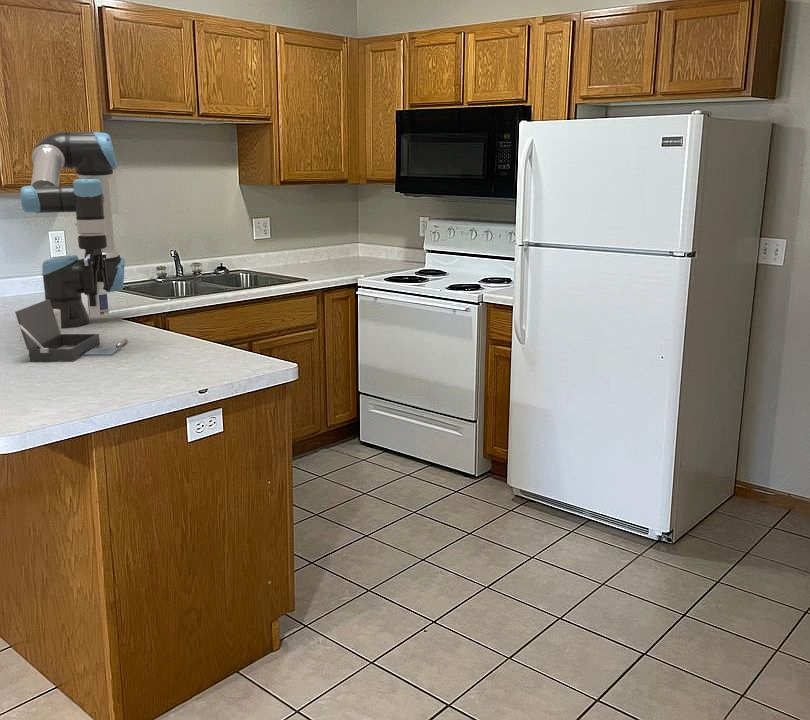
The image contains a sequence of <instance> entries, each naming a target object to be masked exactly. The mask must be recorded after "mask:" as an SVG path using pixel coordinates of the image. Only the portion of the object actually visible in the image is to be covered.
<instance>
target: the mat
mask: <svg viewBox="0 0 810 720" xmlns="http://www.w3.org/2000/svg"><path fill="white" fill-rule="evenodd" d="M121 350H122V349H121V347H120V348H116V347H96V348H93V349H91V350H90V351H88V352H86V353H85V354H84V355H83V357H112V356H113V355H116V354H117V353H118V352H120V351H121Z"/></svg>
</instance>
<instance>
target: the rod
mask: <svg viewBox="0 0 810 720" xmlns="http://www.w3.org/2000/svg"><path fill="white" fill-rule="evenodd" d="M128 342H129V340H128V339H127V338H126V339H124V340H122V341H120V342H118V343H117V344H116V345H115V348H121V347H123V346H124V345H126V344H127V343H128Z"/></svg>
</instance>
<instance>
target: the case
mask: <svg viewBox="0 0 810 720" xmlns="http://www.w3.org/2000/svg"><path fill="white" fill-rule="evenodd" d="M14 314H15V317H16V319H17V323H18V327H19V329H20V331H21V334H22V337H23V340H24V343H25V347H26V349H27V351H28V354H29V355H28V356H29V362H30V363H37V362H41V363H43V362H44V363H45V362H47V363H48V362H49V363H50V362H53V363H54V362H55V363H56V362H58V363H59V362H71V363H72V362H74V361H76V360H78V359H80V358H81V357H84V354H85V353H86V352H88V351H90V350H91V349H93V348H99V347H100V346H101V340H100V334H99V333H63V334H62V332H61V333H60V330H59V327H58V324H57V321H56V318H55V315H54V312H53V308H52V305H51V302H50V299H48V300H45V299H44V300H42V301H41V302H37V303H35V304H32V305H29V306H27V307H24V308H22V309H19V310H17V311H14ZM61 347H70V348H61Z"/></svg>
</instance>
